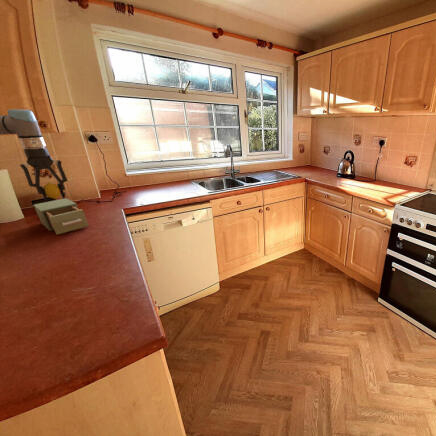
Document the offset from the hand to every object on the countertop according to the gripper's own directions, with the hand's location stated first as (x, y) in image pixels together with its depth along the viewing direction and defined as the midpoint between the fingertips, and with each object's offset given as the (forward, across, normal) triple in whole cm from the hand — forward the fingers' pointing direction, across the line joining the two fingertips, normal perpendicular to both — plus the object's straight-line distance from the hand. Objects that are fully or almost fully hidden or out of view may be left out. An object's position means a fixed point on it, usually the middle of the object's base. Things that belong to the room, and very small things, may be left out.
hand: (55, 198), depth 115 cm
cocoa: (+17, +5, +38) cm, 42 cm away
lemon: (+1, 0, 0) cm, 1 cm away
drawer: (+16, +1, +1) cm, 16 cm away
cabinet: (+17, +1, +16) cm, 23 cm away
